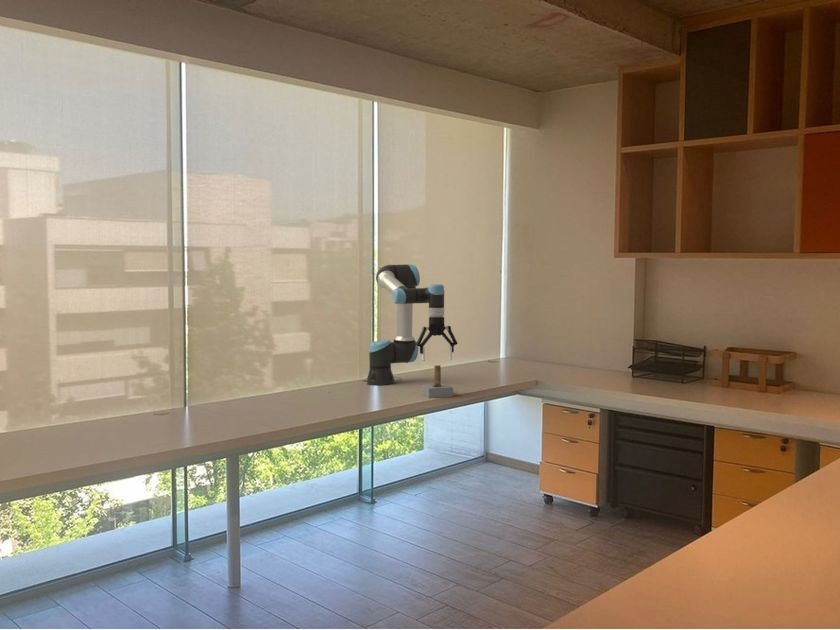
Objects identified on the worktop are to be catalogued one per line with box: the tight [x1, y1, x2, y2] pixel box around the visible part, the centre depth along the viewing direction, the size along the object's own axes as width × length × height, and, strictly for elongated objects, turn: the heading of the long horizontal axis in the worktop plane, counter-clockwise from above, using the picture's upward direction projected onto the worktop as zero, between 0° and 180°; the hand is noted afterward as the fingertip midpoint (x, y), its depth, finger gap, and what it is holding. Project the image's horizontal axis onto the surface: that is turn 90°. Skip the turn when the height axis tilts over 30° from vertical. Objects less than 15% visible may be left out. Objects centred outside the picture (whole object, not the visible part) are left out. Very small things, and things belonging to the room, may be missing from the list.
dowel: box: [433, 364, 442, 387], centre depth 368 cm, size 3×3×14 cm
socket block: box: [422, 383, 454, 399], centre depth 369 cm, size 12×12×4 cm
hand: (436, 359), depth 368 cm, fingers open, 13 cm apart
